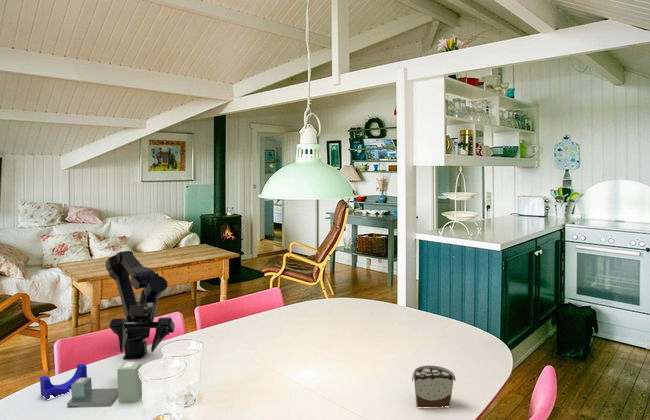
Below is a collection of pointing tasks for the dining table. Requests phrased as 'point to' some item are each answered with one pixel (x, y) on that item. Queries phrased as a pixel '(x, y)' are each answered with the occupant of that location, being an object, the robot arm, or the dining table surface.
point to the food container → (433, 386)
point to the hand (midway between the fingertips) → (136, 351)
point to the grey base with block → (91, 394)
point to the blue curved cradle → (56, 390)
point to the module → (129, 382)
